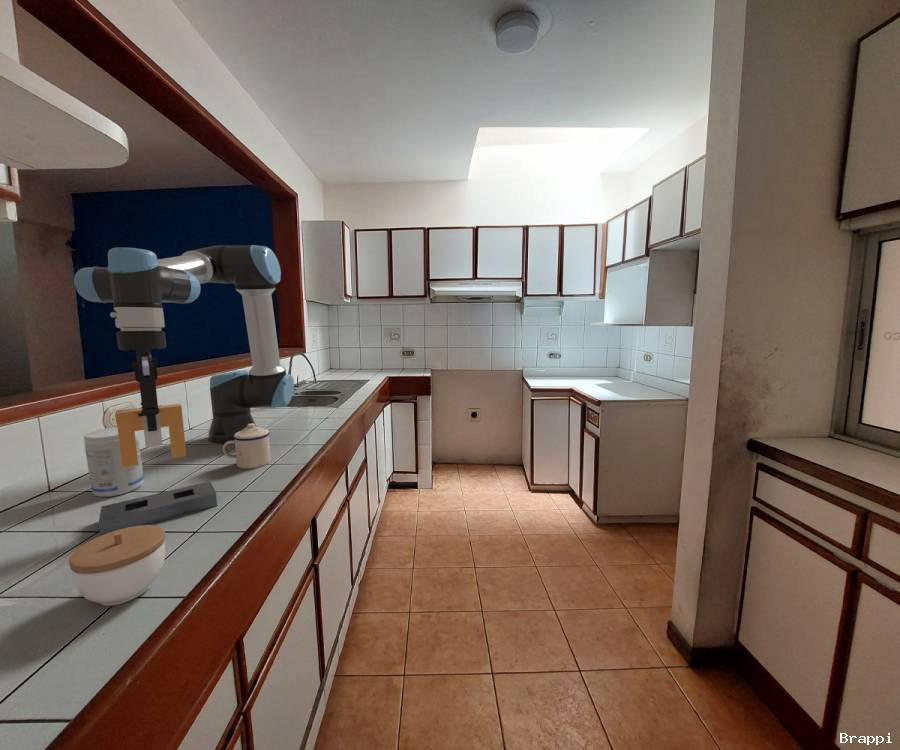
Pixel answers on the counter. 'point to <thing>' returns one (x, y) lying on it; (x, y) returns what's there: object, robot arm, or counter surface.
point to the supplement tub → (110, 464)
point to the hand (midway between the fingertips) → (153, 443)
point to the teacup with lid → (250, 447)
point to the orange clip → (131, 423)
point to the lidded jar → (119, 564)
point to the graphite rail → (156, 507)
